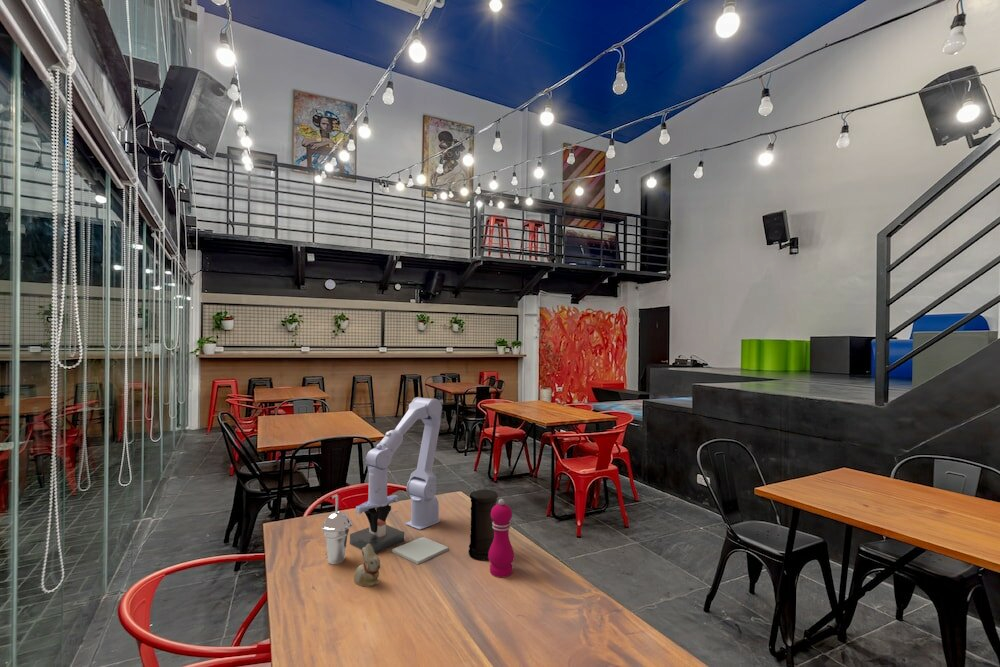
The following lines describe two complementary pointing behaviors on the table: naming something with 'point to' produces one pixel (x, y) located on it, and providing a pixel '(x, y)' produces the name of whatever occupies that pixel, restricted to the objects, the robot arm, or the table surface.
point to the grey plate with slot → (377, 539)
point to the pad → (420, 550)
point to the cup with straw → (336, 534)
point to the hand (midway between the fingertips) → (377, 530)
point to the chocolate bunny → (368, 568)
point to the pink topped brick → (379, 528)
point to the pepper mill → (501, 541)
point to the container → (481, 523)
